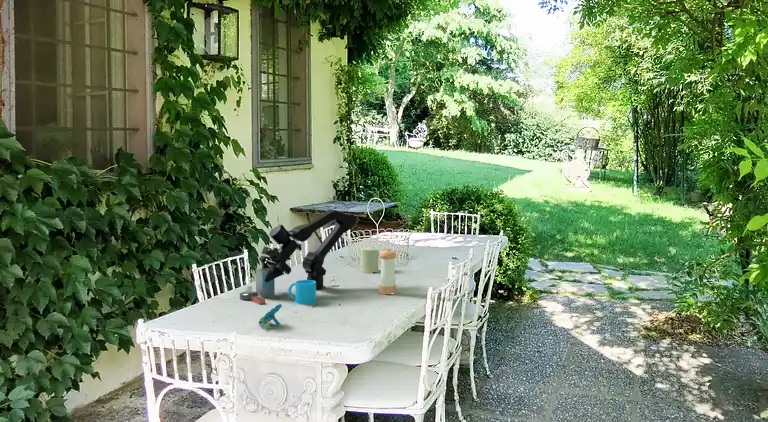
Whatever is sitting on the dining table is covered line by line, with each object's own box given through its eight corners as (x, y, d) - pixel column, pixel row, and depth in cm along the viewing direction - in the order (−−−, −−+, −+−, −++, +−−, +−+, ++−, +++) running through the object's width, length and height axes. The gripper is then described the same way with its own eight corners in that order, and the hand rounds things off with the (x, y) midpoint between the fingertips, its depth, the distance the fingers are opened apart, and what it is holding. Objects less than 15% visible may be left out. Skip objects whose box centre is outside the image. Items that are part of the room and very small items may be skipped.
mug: (319, 300, 261) (319, 281, 260) (309, 305, 253) (309, 284, 252) (293, 297, 265) (293, 278, 264) (283, 302, 258) (283, 282, 257)
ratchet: (252, 295, 268) (252, 283, 268) (270, 302, 256) (270, 290, 256) (236, 297, 264) (236, 285, 263) (254, 305, 252) (253, 292, 251)
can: (382, 271, 323) (382, 247, 322) (371, 274, 315) (372, 249, 314) (366, 269, 328) (367, 245, 327) (356, 271, 320) (356, 248, 319)
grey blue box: (268, 293, 272) (267, 267, 271) (274, 296, 267) (274, 270, 266) (256, 295, 268) (255, 269, 267) (262, 298, 264) (262, 271, 263)
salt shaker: (398, 292, 277) (399, 248, 275) (391, 295, 270) (392, 250, 269) (383, 290, 280) (384, 246, 278) (376, 293, 274) (376, 249, 272)
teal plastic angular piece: (269, 315, 232) (284, 298, 227) (279, 327, 231) (295, 311, 226) (250, 326, 222) (265, 310, 217) (261, 339, 221) (277, 323, 217)
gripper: (262, 236, 275) (239, 264, 269) (284, 242, 261) (260, 272, 255) (279, 253, 281) (256, 281, 275) (301, 259, 266) (277, 289, 261)
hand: (262, 280), depth 266 cm, fingers closed on grey blue box, 6 cm apart
